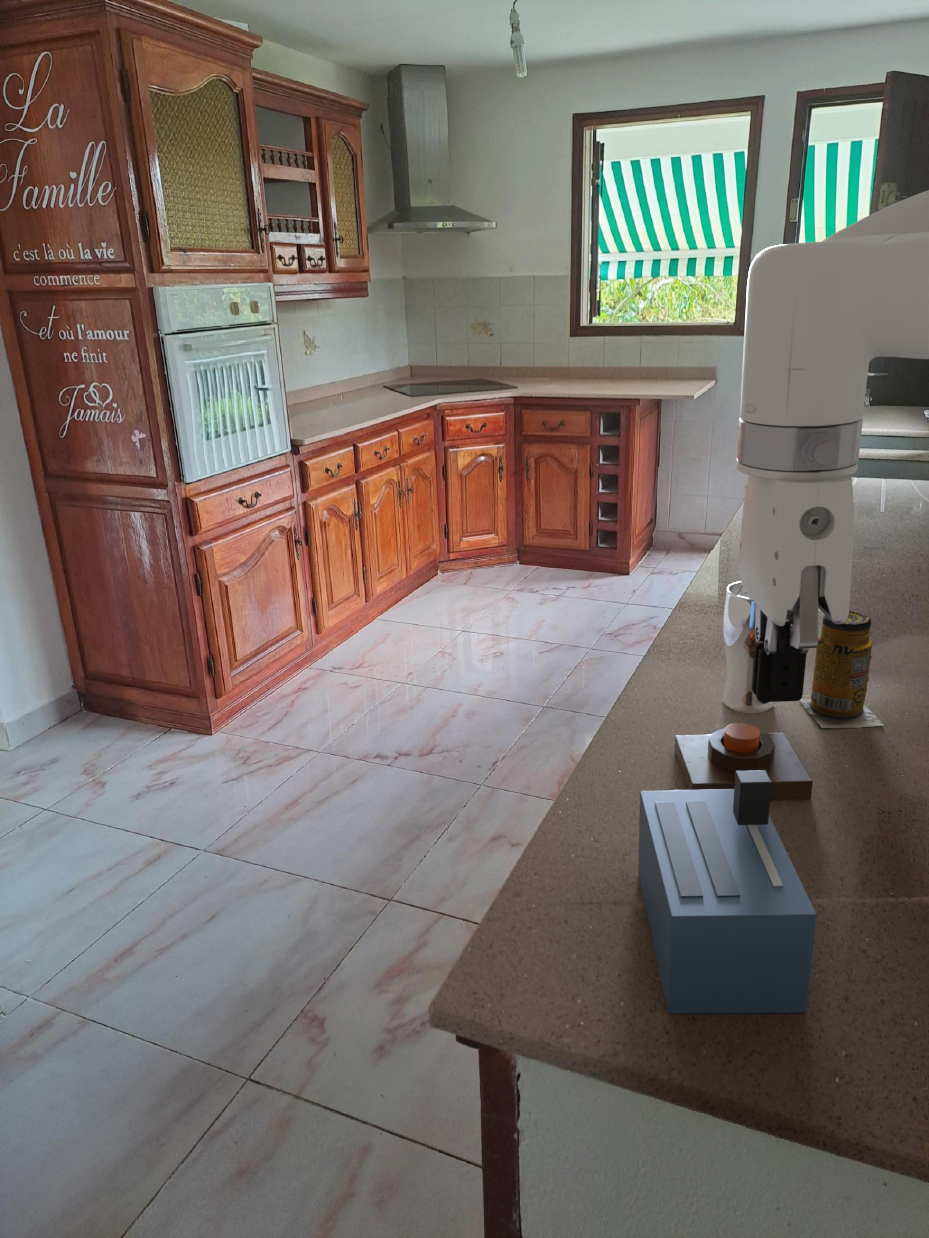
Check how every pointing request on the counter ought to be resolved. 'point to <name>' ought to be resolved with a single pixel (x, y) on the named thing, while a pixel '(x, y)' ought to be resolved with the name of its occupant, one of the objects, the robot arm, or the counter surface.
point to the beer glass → (740, 651)
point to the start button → (741, 737)
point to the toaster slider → (752, 797)
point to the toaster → (722, 907)
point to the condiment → (842, 674)
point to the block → (742, 764)
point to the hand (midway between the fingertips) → (776, 696)
